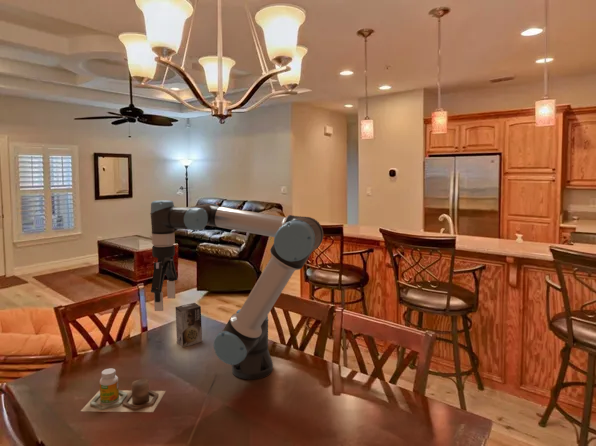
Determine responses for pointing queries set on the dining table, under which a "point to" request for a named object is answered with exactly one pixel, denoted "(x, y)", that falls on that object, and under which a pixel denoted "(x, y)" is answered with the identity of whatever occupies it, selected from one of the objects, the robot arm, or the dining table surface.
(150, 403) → the board
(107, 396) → the supplement bottle
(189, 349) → the dining table surface
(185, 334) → the coffee box
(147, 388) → the walnut dowel stub
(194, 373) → the dining table surface
